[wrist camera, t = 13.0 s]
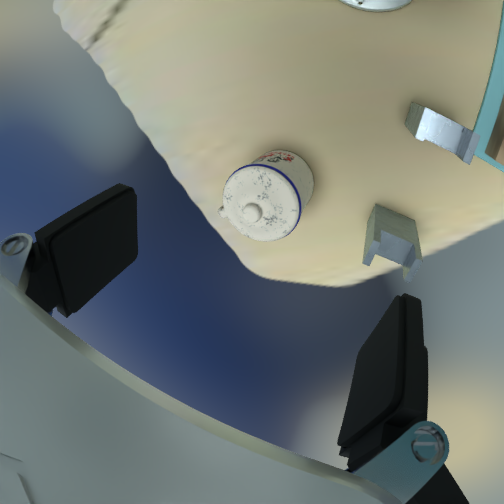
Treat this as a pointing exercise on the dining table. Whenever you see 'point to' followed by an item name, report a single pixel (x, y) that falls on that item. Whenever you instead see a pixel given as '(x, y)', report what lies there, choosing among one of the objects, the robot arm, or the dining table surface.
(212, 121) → the dining table surface
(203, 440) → the robot arm
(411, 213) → the dining table surface
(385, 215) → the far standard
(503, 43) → the mat
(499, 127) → the rail
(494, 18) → the dining table surface
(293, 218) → the teacup with lid
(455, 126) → the near standard
